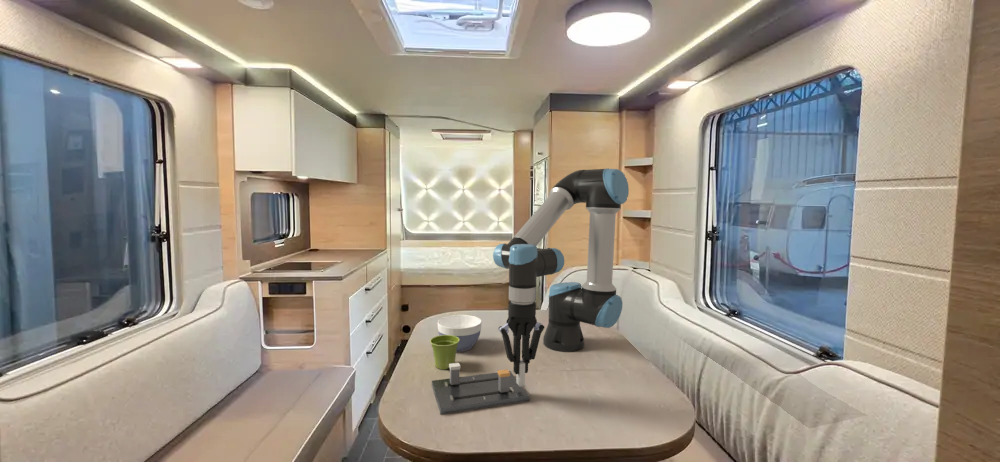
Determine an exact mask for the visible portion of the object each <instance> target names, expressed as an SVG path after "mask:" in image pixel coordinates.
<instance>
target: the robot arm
mask: <svg viewBox="0 0 1000 462" xmlns="http://www.w3.org/2000/svg"><path fill="white" fill-rule="evenodd" d="M629 191H630V189H629V182H628V179H627V177H626V175H625V173H624V172H623V171H622V170H620V169H618V168H596V169H595V168H594V169H579V170H575V171H573V172H571V173H569V174H567V175H566V176H564V177H562V178H561V179H560V180H559V181H558V182H556V183H555V185H554V186H553V187H552V188H551V189H550V190H549V193H548V197H547V198H546V199H545V201H543V202H542V203H541V205H540V206H539V207H538V209H536V210H535V212H533V214H532V215H531V216H530V218H529V219H528V220H527V221H526V222H525V223H524V224H523V225H522V226H521V228H520V229H519V230H518V231H517V232H516V234H515V235H514V236H513V237H512V239H510V241H509V242H508V243H499V244H498V245H496V246H495V248H494V250H493V252H492V253H493V254H492V258H493V262H494V264H495V265H496V266H498V267H500V268H504V269H506V270H508V300H509V301H508V305H507V306H508V308H507V312H508V313H507V315H508V317H507V320H506V323H505V324H504V325H501V326H500V325H499V327H498V331H499V332H500V334H501V338H502V340H503V341H502V342H503V345H504V350H505V353H506V358H507V359H508V361H509V362H510V363H513V373H514V374H515V375H516V376H515V378H516V383H517V384H518V385H519V387H525V386H526V374H528V372H529V364H530V363H531V360H535V359H536V357H537V356H536V355H537V350H538V347H539V343H540V338H541V335H542V333H543V331H544V330H545V332H544V334H543V338H542V339H543V341H542V343H543V346H545V348H548V349H550V350H553V351H559V352H575V351H579V350H582V349H584V347H585V337H584V335H583V332H582V329H581V323H584V324H588V325H592V326H595V327H598V328H605V329H610V328H612V327H613V326H614V325H616V323H617V322H618V321H619V318H620V317H621V313H622V311H623V299H622V297H621V296H620V295H618V294H617V287H616V286H615V285H614V284H613V272H614V253H615V235H616V216H617V214H618V212H619V211H620V210H621V209H622V208H621V207H622V205H623V204H625V203H626V202H627V201H628V197H629ZM581 203H582V204H583V203H584V204H585V209H586V211H588V212H589V224H588V225H589V228H588V232H589V233H588V246H587V263H586V264H587V267H586V282H584V283H583V284H581V282H576V281H574V282H573V281H568V282H557V283H553V284H551V285H550V286H549V291H548V292H549V293H548V324H547V326H546V329H545V325H544V324H542V323H541V322H538V320H537V317H536V314H537V313H536V312H537V308H536V307H537V303H536V301H537V278H539V277H543V276H544V277H545V276H548V275H551V276H553V275H554V274H557V273H559V272H561V270H562V269H564V265H565V257H564V254H563V253H562V251H561V250H560V249H558V248H556V247H547V248H540V247H537V246H538V245H539V243H540V242H541V241H542V240H543V239H544V237H545V236H546V235H547V234H548V233H549V231H550V230H551V229H552V228H553V226H554V225H555V224H556V223H557V221H558V220H559V219H560V218H561V217H562V215H563V214H564V213H565V211H568V210H571V209H572V208H573V207H574V205H576V204H581ZM509 330H510V331H511V332H512V336H513V339H512V340H513V341H512V342H513V345H512V344H511V339H510V336H509V332H510V331H509ZM532 331H533V332H532ZM531 332H532V335H531ZM530 339H531V340H530ZM512 347H513V348H512Z"/></svg>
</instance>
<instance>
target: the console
mask: <svg viewBox="0 0 1000 462" xmlns="http://www.w3.org/2000/svg"><path fill="white" fill-rule="evenodd" d="M508 371H509V372H510V376H509V391H508V392H501V393H500V391H499V390H498V371H497V372H491V373H489V372H488V373H482V374H475V375H466V376H460V380H459V384H455V385H451V384H450V377H449V378H443V379H441V378H440V379H436V380H431V388H432V390H433V394H434V397H435V400H436V404H437V408H438V410H439V413H440V415H446V414H452V413H453V414H454V413H459V412H466V411H472V410H478V409H485V408H492V407H497V406H498V407H499V406H503V405H511V404H518V403H526V402H529V401H530V395H529V393H528V392H527V391H526V390H525V388H524V386H522V387H519V385H518V384H517V383H516V376H515V375H513V373H512V372H511V371H510V370H508Z"/></svg>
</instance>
